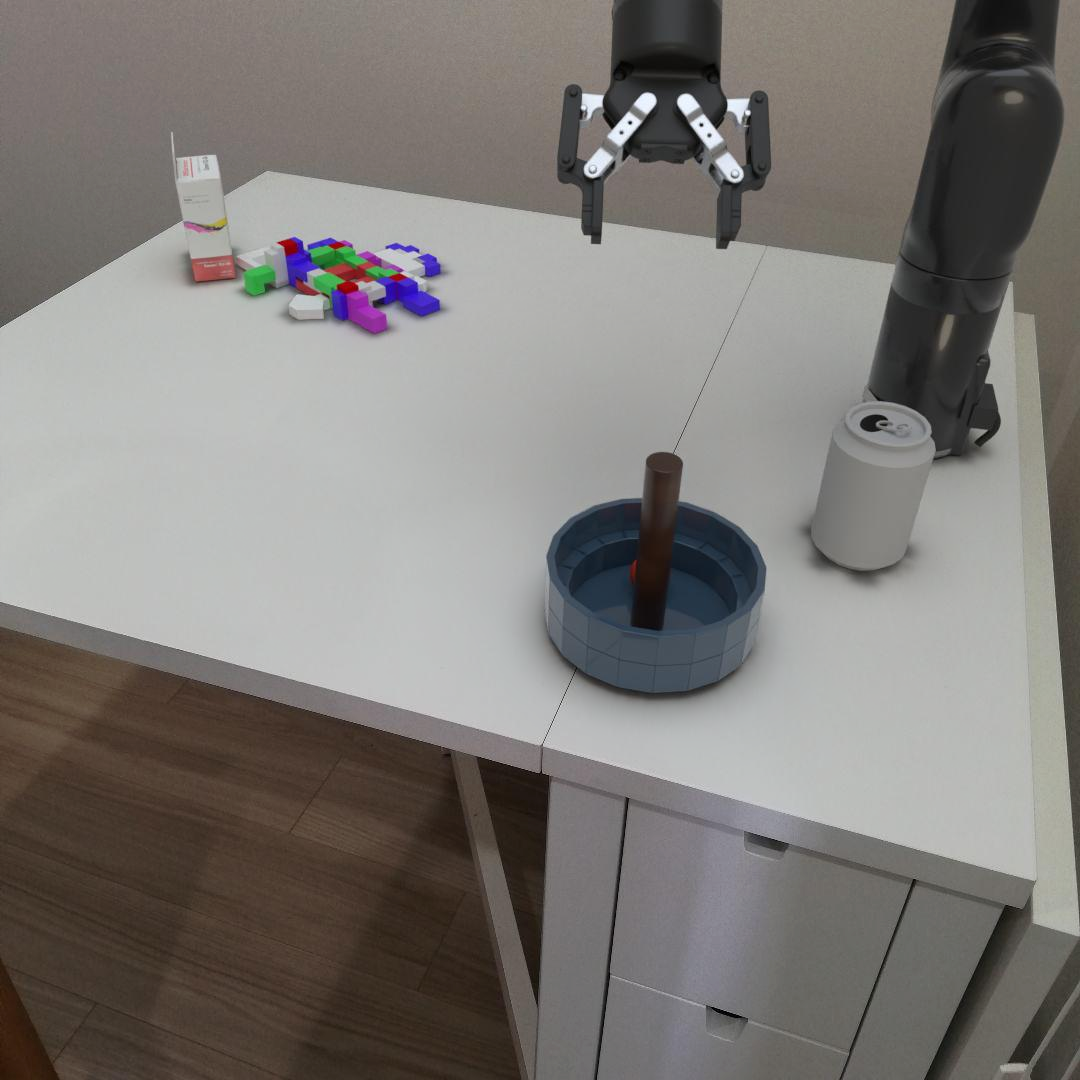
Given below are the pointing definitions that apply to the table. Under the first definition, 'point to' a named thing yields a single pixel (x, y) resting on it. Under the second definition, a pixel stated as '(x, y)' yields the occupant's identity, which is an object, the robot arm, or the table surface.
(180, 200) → the ink cartridge box
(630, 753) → the table surface
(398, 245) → the building block set
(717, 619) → the bowl
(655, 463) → the stick
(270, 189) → the table surface
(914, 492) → the can
